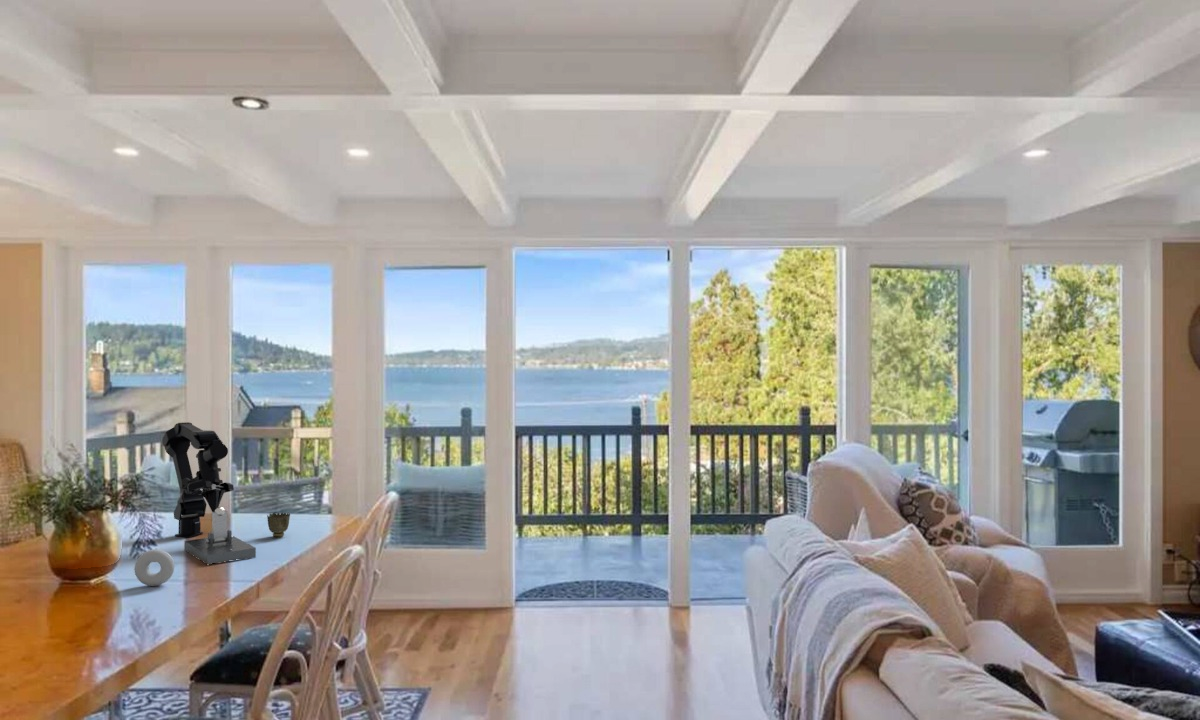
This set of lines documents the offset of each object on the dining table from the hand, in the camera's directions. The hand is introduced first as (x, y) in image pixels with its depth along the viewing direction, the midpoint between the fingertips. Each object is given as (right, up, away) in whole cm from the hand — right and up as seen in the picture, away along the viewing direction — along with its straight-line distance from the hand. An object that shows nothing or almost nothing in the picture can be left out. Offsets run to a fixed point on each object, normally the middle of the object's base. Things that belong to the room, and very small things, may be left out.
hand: (214, 512), depth 250 cm
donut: (+6, -11, -45) cm, 46 cm away
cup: (+16, -12, +13) cm, 24 cm away
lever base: (+7, -11, -10) cm, 17 cm away
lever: (+7, -7, -10) cm, 14 cm away
